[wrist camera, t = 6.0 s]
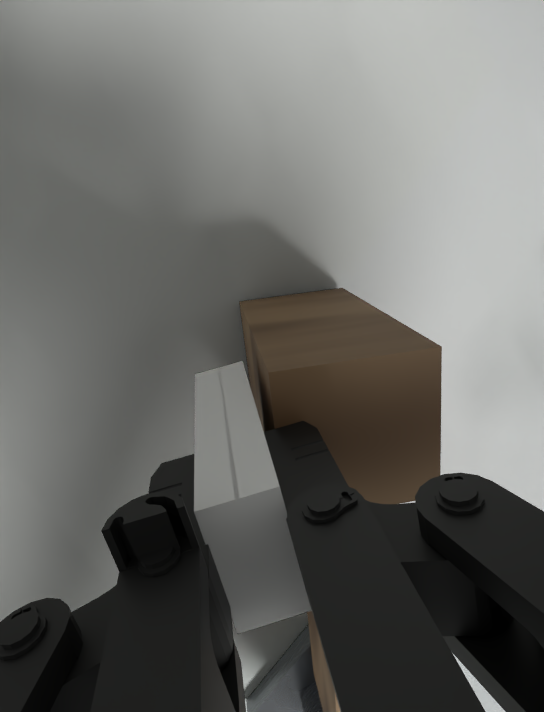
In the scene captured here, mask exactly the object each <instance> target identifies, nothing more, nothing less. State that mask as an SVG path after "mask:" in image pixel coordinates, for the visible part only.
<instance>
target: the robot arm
mask: <svg viewBox="0 0 544 712" xmlns="http://www.w3.org/2000/svg"><path fill="white" fill-rule="evenodd" d="M415 501H416V503H406V504H379V503H374V502H370V501H367V500H365V499H364V497H363V496H362V495H361V494H360V493H359V492H358V491H357V490H356V489H354V488H351V487H349V486H348V484H347V483H346V481H345V479H344V477H343V475H342V473H341V471H340V470H339V468H338V466H337V464H336V462H335V460H334V458H333V457H332V455H331V453H330V451H329V450H328V447H327V445H326V444H325V442H324V441H323V438H322V436H321V434H320V432H319V431H318V429H317V428H316V427H314V426H313V425H311V424H309V423H307V422H305V421H300V422H297V423H294V424H290V425H287V426H283V427H280V428H276V429H273V430H269V431H266V432H263V428H262V425H261V422H260V418H259V415H258V411H257V408H256V405H255V401H254V398H253V395H252V391H251V388H250V384H249V381H248V378H247V374H246V371H245V368H244V364H243V361H240V362H237V363H233V364H230V365H226V366H222V367H219V368H215V369H211V370H208V371H204V372H201V373H197V374H195V439H194V454H192V455H189V456H185V457H182V458H178V459H175V460H172V461H168V462H165V463H162V464H161V465H160V466H159V468H158V469H157V470H156V472H155V473H154V475H153V476H152V477H151V481H150V487H149V494H146V495H144V496H141V497H139V498H136V499H134V500H132V501H130V502H128V503H127V504H125V505H124V506H122V507H121V508H119V509H118V510H117V511H116V512H115V513H114V514H113V515H112V516H111V517H110V518H109V519H108V520H107V521H106V523H105V525H104V527H103V529H102V533H103V536H104V538H105V540H106V542H107V545H108V547H109V549H110V551H111V554H112V556H113V558H114V560H115V563H116V565H117V567H118V570H119V577H118V581H117V585H116V586H115V587H113V588H112V589H111V590H109V591H108V592H106V593H105V594H103V595H102V596H100V597H98V598H97V599H95V600H93V601H91V602H89V603H88V604H86V605H84V606H82V607H80V608H78V609H77V610H75V611H73V612H71V610H70V608H69V606H68V605H67V604H66V603H64V602H63V601H62V600H61V599H54V598H45V599H41V600H38V601H34V602H31V603H29V604H27V605H25V606H23V607H21V608H19V609H18V610H16V611H14V612H12V613H11V614H10V615H9V616H7V617H6V618H5V619H4V620H2V621H1V622H0V712H246V708H245V697H244V687H243V677H242V667H241V660H240V657H239V654H238V651H237V649H236V646H235V643H234V640H233V631H232V620H233V623H234V626H235V629H236V632H237V634H240V633H243V632H246V631H249V630H252V629H255V628H258V627H262V626H265V625H268V624H271V623H275V622H278V621H281V620H284V619H287V618H290V617H293V616H297V615H300V614H303V613H306V612H309V611H312V614H313V616H314V620H315V623H316V627H317V630H318V634H319V638H320V641H321V645H322V648H323V652H324V656H325V659H326V663H327V666H328V669H329V673H330V676H331V680H332V683H333V687H334V690H335V694H336V697H337V701H338V705H339V708H340V712H485V710H484V708H483V707H482V705H481V703H480V701H479V700H478V698H477V696H476V694H475V693H474V691H473V689H472V687H471V686H470V684H469V682H468V680H467V679H466V677H465V675H464V673H463V671H462V670H461V668H460V666H459V664H458V663H457V661H456V659H455V657H454V656H453V654H454V655H455V656H456V657H457V658H458V659H459V660H460V662H461V663H462V664H463V665H464V666H465V667H466V668H467V669H468V670H469V671H470V673H471V674H472V675H473V676H474V677H475V678H476V679H477V680H478V681H479V683H480V684H481V685H482V686H483V687H484V688H485V689H486V690H487V691H488V692H489V694H490V695H491V696H492V697H493V698H494V699H495V700H496V701H497V702H498V703H499V705H500V706H501V707H502V708H503V709H504V710H505V711H506V712H544V512H543V511H542V510H540V509H538V508H537V507H535V506H533V505H532V504H530V503H528V502H526V501H525V500H523V499H521V498H520V497H518V496H516V495H515V494H513V493H511V492H510V491H508V490H506V489H504V488H503V487H501V486H499V485H498V484H496V483H494V482H493V481H490V480H488V479H485V478H483V477H480V476H478V475H472V474H465V473H453V474H444V475H441V476H438V477H435V478H432V479H430V480H428V481H427V482H426V483H424V484H423V485H422V486H420V488H419V490H418V491H417V493H416V495H415ZM231 618H232V619H231ZM452 653H453V654H452Z"/></svg>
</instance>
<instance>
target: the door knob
mask: <svg viewBox="0 0 544 712" xmlns="http://www.w3.org/2000/svg"><path fill="white" fill-rule="evenodd" d="M246 701H247V711H248V712H323V710H322V706H321V701H320V697H319V693H318V689H317V685H316V681H315V677H314V672H313V662H312V652H311V643H310V633H309V624H308V625H307V627H306V628H305V629H304V630H303V631H302V633H301V634H300V635H299V636H298V638H297V639H296V640H295V641H294V643H293V644H292V645H291V646H290V647H289V649H288V650H287V651H286V652H285V654H284V655H283V656H282V657H281V658H280V660H279V661H278V662H277V663H276V665H275V666H274V667H273V668H272V670H271V671H270V672H269V673H268V674H267V676H266V677H265V678H264V679H263V681H262V682H261V683H260V684H259V685H258V687H257V688H256V689H255V690H254V692H253V693H252V694H251V695H250V697H249V698H248V699H247V700H246Z"/></svg>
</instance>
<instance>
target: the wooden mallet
mask: <svg viewBox="0 0 544 712" xmlns="http://www.w3.org/2000/svg"><path fill="white" fill-rule="evenodd" d="M239 303H240V311H241V319H242V326H243V334H244V342H245V350H246V358H247V366H248V373H249V381H250V388H251V391H252V395H253V398H254V401H255V405H256V408H257V411H258V415H259V418H260V422H261V425H262V428H263V432H266V431H269V430H273V429H276V428H280V427H283V426H287V425H290V424H294V423H297V422H300V421H305V422H307V423H309V424H311V425H313V426H314V427H316V428H317V429H318V431H319V432H320V434H321V436H322V438H323V441H324V442H325V444H326V445H327V447H328V450H329V451H330V453H331V455H332V457H333V458H334V460H335V462H336V464H337V466H338V468H339V470H340V471H341V473H342V475H343V477H344V479H345V481H346V483H347V484H348V486H349V487H351V488H354V489H356V490H357V491H358V492H359V493H360V494H361V495H362V496H363V497H364V499H365V500H367V501H370V502H374V503H379V504H399V503H405V502H410V501H415V495H416V493H417V491H418V490H419V488H420V486H422V485H423V484H424V483H426V482H427V481H428V480H430V479H432V478H435V477H438V476H440V450H441V351H442V347H441V346H440V345H438V344H436V343H434V342H433V341H431V340H429V339H428V338H426V337H424V336H423V335H421V334H419V333H418V332H416V331H414V330H412V329H411V328H409V327H407V326H406V325H404V324H402V323H401V322H399V321H397V320H396V319H394V318H392V317H390V316H389V315H387V314H385V313H384V312H382V311H380V310H379V309H377V308H375V307H374V306H372V305H370V304H369V303H367V302H365V301H363V300H362V299H360V298H358V297H357V296H355V295H353V294H352V293H350V292H348V291H347V290H345V289H343V288H338V289H330V290H322V291H315V292H307V293H300V294H292V295H285V296H277V297H270V298H262V299H254V300H247V301H239ZM307 614H308V623H309V633H310V643H311V652H312V662H313V672H314V677H315V681H316V685H317V689H318V693H319V697H320V701H321V706H322V710H323V712H340V708H339V705H338V701H337V697H336V694H335V690H334V687H333V683H332V680H331V676H330V673H329V669H328V666H327V663H326V659H325V656H324V652H323V648H322V645H321V641H320V638H319V634H318V630H317V627H316V623H315V620H314V616H313V614H312V611H309V612H307Z"/></svg>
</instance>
